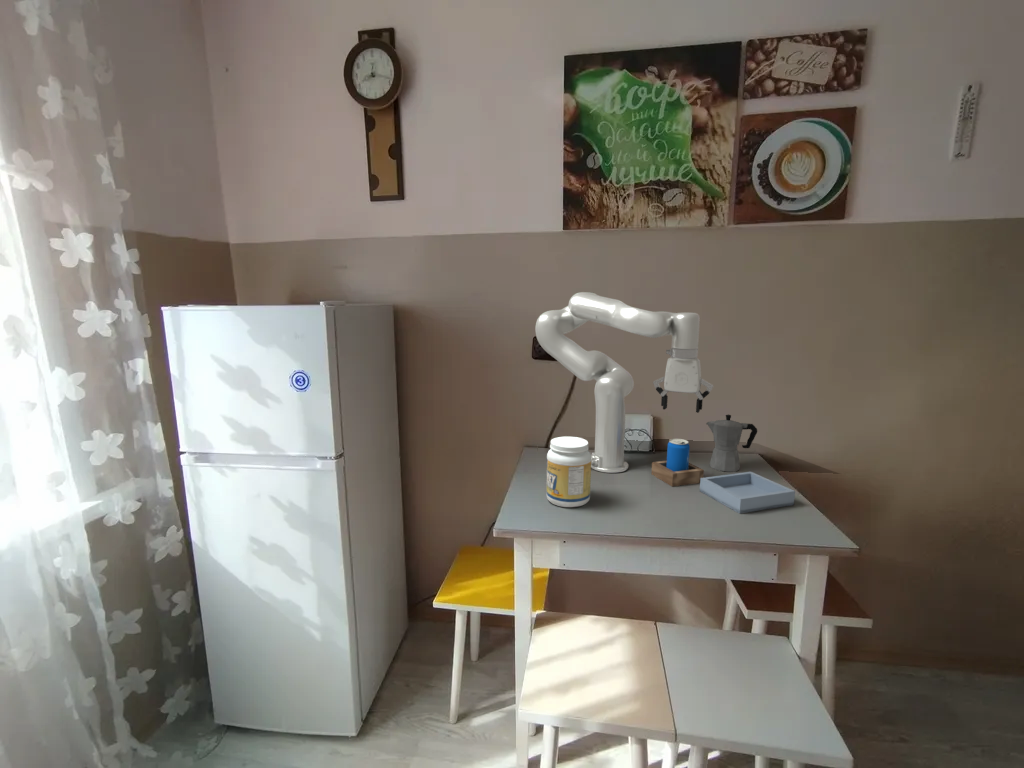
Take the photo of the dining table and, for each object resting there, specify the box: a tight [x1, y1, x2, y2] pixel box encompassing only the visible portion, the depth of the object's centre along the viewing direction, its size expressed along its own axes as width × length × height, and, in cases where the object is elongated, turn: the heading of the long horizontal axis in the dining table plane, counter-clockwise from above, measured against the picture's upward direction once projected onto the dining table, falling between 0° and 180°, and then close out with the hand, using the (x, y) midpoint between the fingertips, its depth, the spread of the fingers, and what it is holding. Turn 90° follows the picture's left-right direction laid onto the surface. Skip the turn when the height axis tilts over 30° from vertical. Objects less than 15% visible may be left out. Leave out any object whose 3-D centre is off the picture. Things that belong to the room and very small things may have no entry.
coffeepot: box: [705, 414, 758, 473], centre depth 165 cm, size 15×9×18 cm, turn 67°
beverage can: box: [666, 438, 691, 472], centre depth 156 cm, size 6×6×12 cm
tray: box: [699, 471, 796, 514], centre depth 142 cm, size 18×16×4 cm
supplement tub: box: [545, 436, 592, 508], centre depth 139 cm, size 12×12×17 cm
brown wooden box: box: [651, 460, 705, 487], centre depth 157 cm, size 11×11×4 cm
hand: (681, 410), depth 153 cm, fingers open, 9 cm apart
